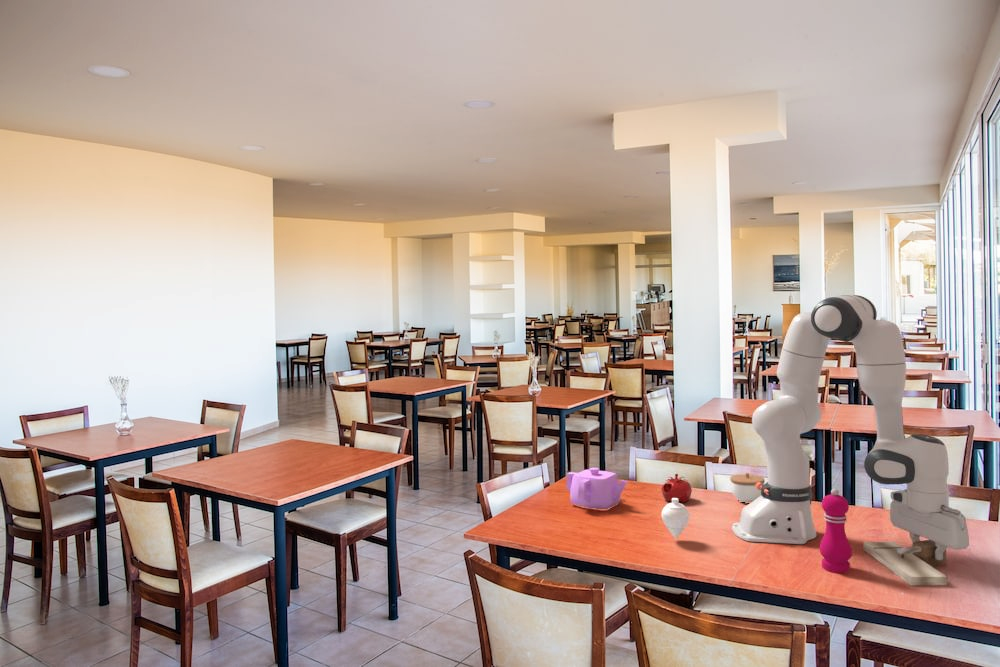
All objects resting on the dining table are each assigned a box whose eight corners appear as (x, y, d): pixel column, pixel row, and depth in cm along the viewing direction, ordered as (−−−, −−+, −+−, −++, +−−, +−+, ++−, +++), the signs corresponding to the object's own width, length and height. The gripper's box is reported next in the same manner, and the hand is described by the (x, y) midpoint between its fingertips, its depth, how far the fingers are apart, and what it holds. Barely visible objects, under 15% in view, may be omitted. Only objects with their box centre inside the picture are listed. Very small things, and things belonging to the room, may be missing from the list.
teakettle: (564, 499, 235) (563, 464, 234) (610, 495, 238) (609, 460, 237) (579, 514, 218) (578, 476, 217) (629, 509, 221) (628, 472, 221)
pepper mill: (813, 563, 171) (812, 485, 171) (841, 562, 172) (840, 484, 171) (830, 575, 164) (829, 493, 163) (858, 573, 165) (857, 491, 164)
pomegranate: (691, 497, 233) (691, 470, 233) (692, 505, 224) (692, 477, 223) (661, 495, 236) (661, 469, 235) (661, 503, 226) (661, 476, 225)
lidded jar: (770, 505, 221) (769, 476, 220) (737, 506, 221) (736, 477, 221) (758, 496, 231) (757, 468, 231) (726, 496, 232) (726, 469, 231)
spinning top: (690, 537, 193) (689, 495, 193) (689, 546, 186) (688, 503, 186) (663, 534, 196) (662, 493, 196) (660, 544, 189) (659, 501, 188)
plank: (911, 585, 157) (910, 576, 157) (863, 549, 180) (863, 541, 180) (946, 585, 156) (946, 576, 156) (894, 549, 179) (894, 541, 179)
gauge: (906, 570, 165) (905, 550, 165) (892, 564, 169) (892, 544, 169) (946, 564, 168) (945, 544, 168) (932, 558, 172) (932, 539, 172)
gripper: (976, 511, 159) (976, 568, 160) (905, 488, 179) (905, 540, 180) (954, 513, 158) (954, 572, 159) (885, 491, 178) (885, 543, 178)
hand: (928, 555), depth 169 cm, fingers open, 4 cm apart
